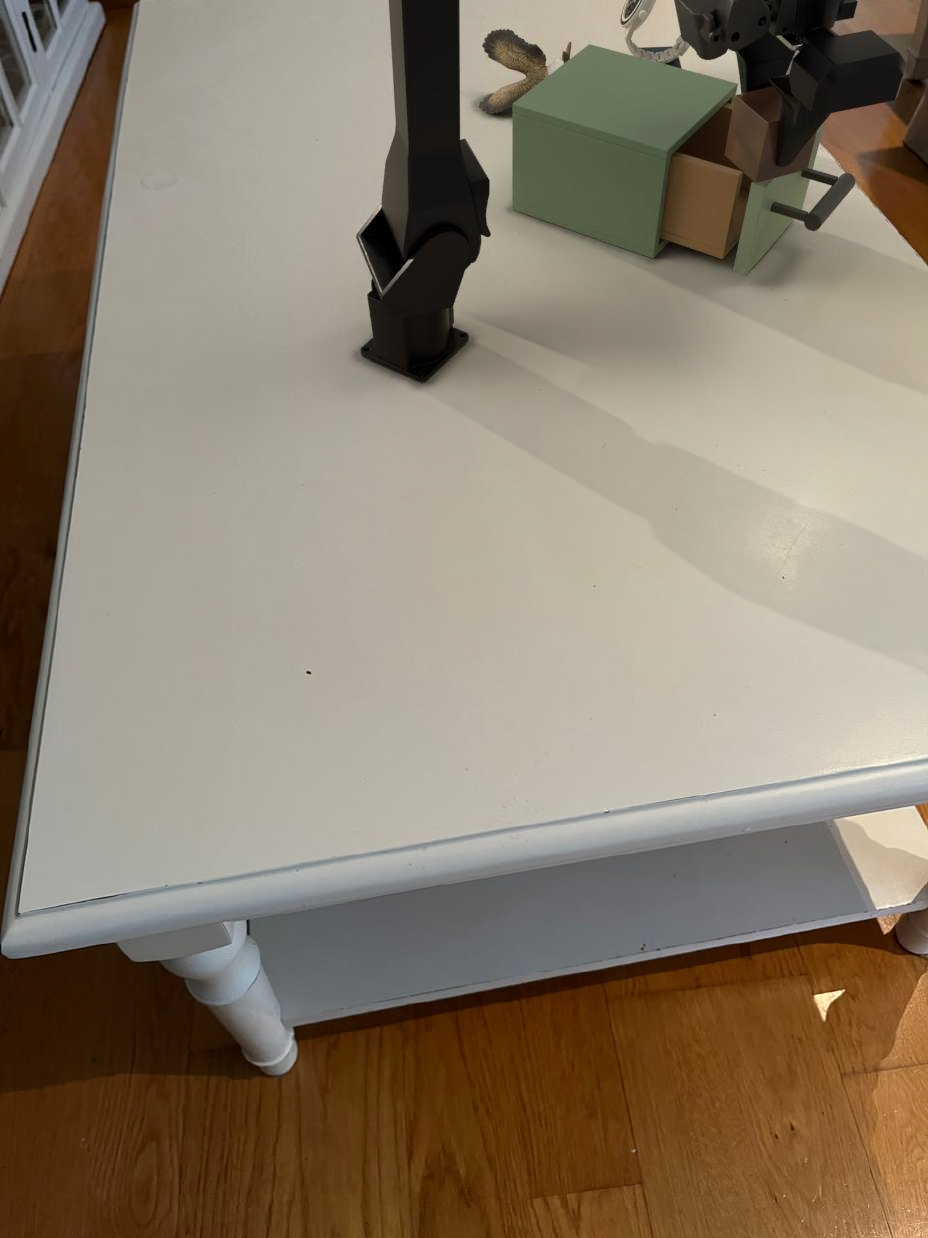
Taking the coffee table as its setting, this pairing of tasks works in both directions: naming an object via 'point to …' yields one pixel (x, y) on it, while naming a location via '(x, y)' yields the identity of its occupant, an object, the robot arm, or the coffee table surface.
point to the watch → (631, 19)
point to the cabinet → (607, 143)
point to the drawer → (737, 198)
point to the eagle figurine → (517, 67)
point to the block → (760, 136)
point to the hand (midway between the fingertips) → (766, 148)
